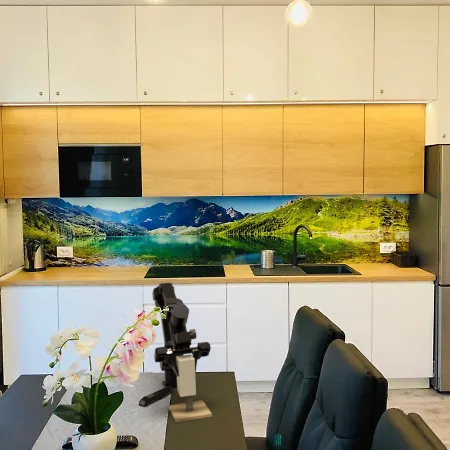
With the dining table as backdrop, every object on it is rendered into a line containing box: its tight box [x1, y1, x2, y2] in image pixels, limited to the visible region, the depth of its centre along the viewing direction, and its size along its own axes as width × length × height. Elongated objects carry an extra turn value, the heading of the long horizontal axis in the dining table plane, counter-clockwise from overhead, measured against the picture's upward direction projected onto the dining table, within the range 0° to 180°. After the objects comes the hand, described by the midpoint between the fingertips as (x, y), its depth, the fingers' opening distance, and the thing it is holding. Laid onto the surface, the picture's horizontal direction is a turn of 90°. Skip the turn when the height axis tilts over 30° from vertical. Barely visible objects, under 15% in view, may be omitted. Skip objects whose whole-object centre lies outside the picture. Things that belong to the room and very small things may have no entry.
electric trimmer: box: [138, 385, 173, 408], centre depth 195 cm, size 4×16×3 cm, turn 145°
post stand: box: [168, 397, 213, 423], centre depth 182 cm, size 12×12×4 cm
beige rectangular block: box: [176, 354, 197, 398], centre depth 181 cm, size 5×5×12 cm
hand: (186, 375), depth 179 cm, fingers closed on beige rectangular block, 5 cm apart
